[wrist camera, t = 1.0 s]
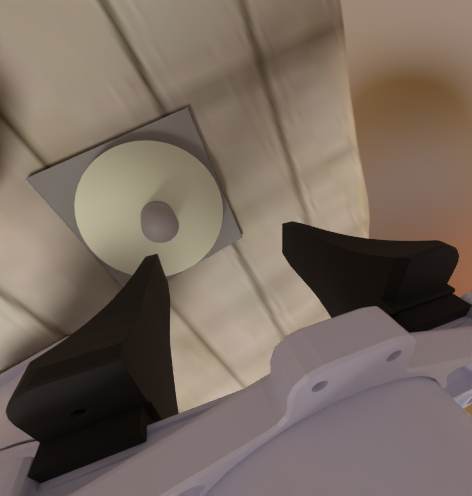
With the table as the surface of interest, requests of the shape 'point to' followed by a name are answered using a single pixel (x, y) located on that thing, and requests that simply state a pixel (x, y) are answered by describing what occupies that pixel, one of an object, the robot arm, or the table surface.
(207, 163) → the mat
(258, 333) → the table surface
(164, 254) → the lid
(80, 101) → the table surface
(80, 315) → the table surface
